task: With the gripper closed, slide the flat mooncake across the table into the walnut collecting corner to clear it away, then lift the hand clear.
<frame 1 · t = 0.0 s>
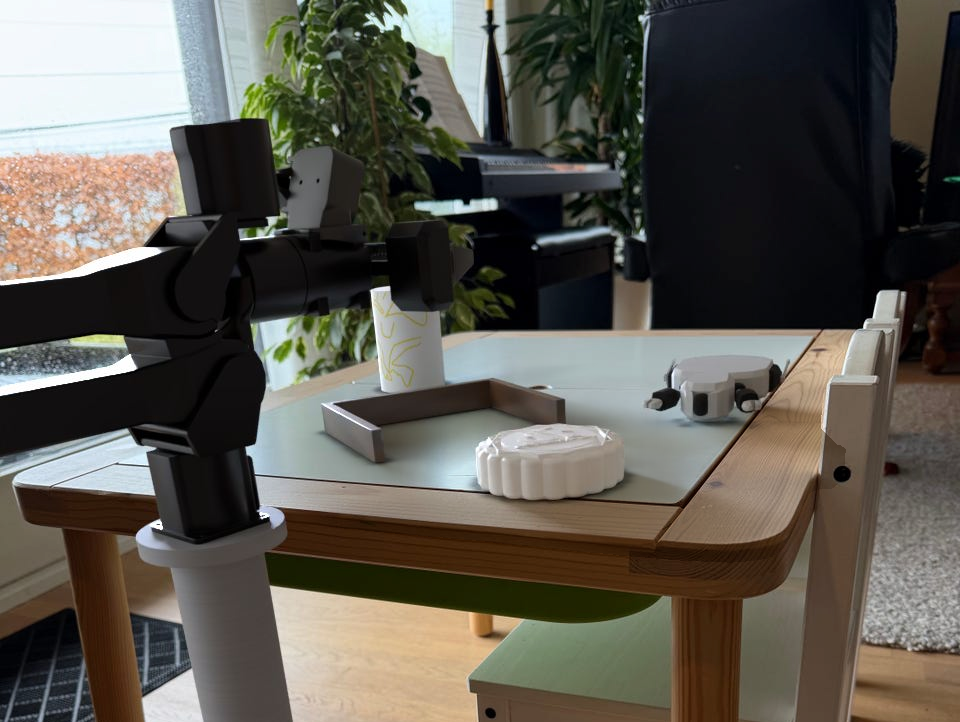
hand: (431, 257, 82), 17 cm above the table, tool horizontal, fingers open, 9 cm apart
cup: (413, 388, 125), on the table
robot toy: (715, 413, 99), on the table
mooncake: (551, 482, 80), on the table
collecting corner: (444, 432, 100), on the table
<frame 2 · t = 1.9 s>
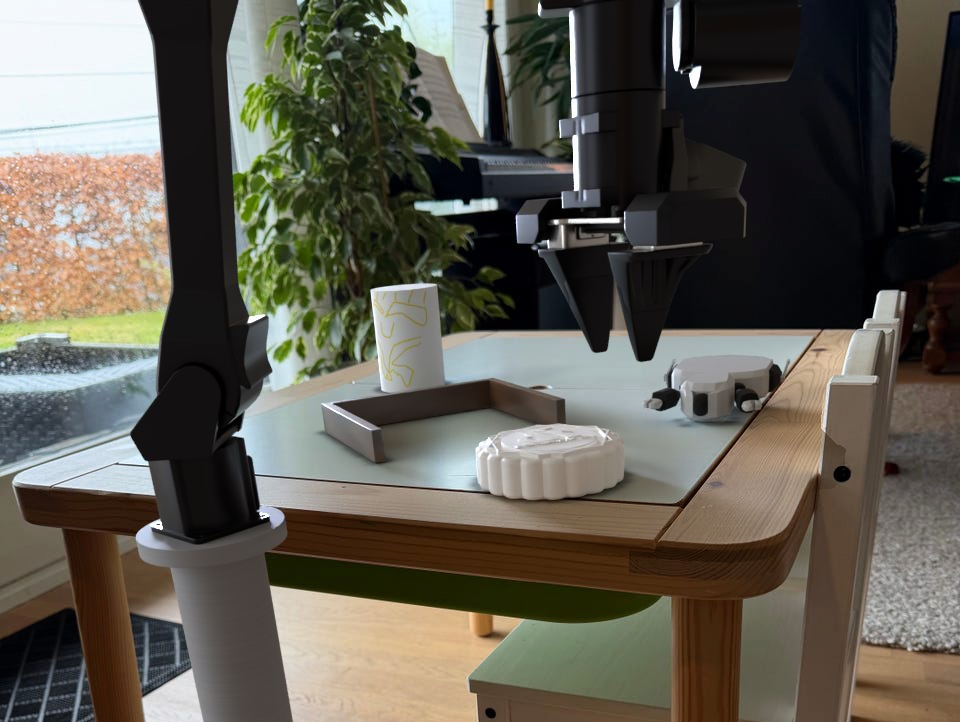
hand: (621, 356, 67), 11 cm above the table, tool pointing down, fingers open, 5 cm apart
nothing on the table moved.
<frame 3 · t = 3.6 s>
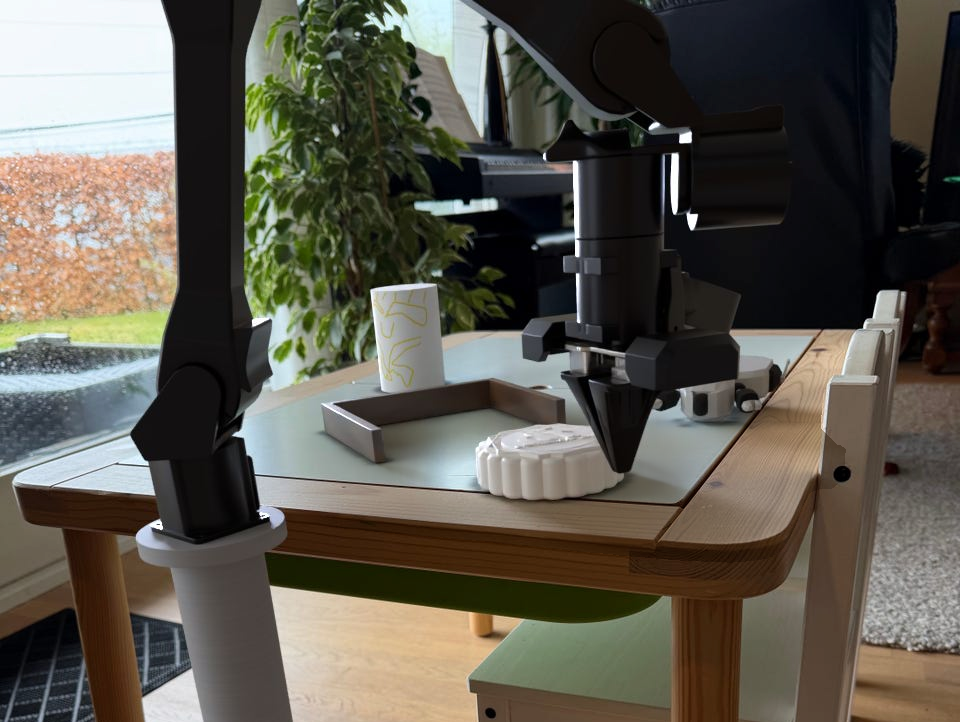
hand: (621, 471, 70), 3 cm above the table, tool pointing down, fingers closed
nothing on the table moved.
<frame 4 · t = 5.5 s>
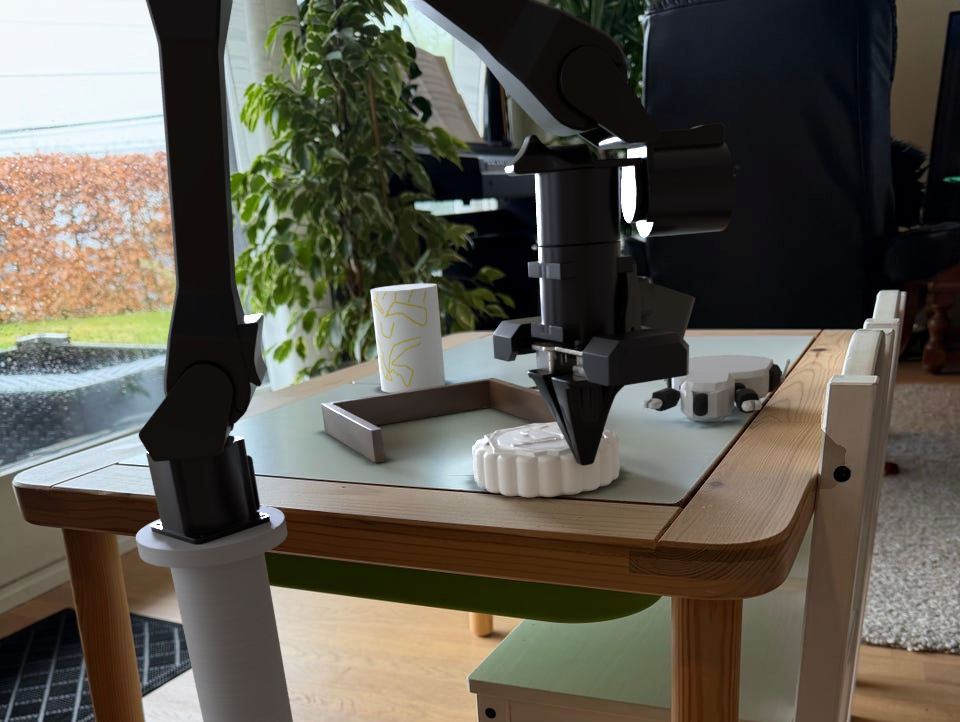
hand: (585, 464, 74), 3 cm above the table, tool pointing down, fingers closed
mooncake: (547, 480, 81), on the table, touching gripper
everything else where it was.
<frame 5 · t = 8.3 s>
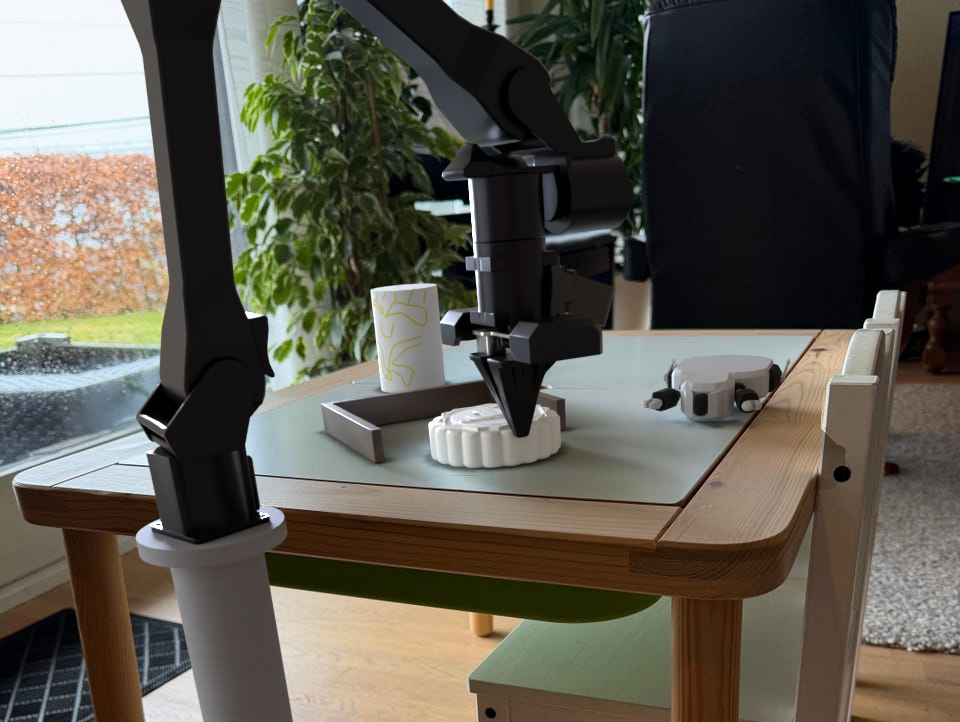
hand: (521, 436, 84), 3 cm above the table, tool pointing down, fingers closed
mooncake: (496, 454, 90), on the table, touching gripper
everything else where it was.
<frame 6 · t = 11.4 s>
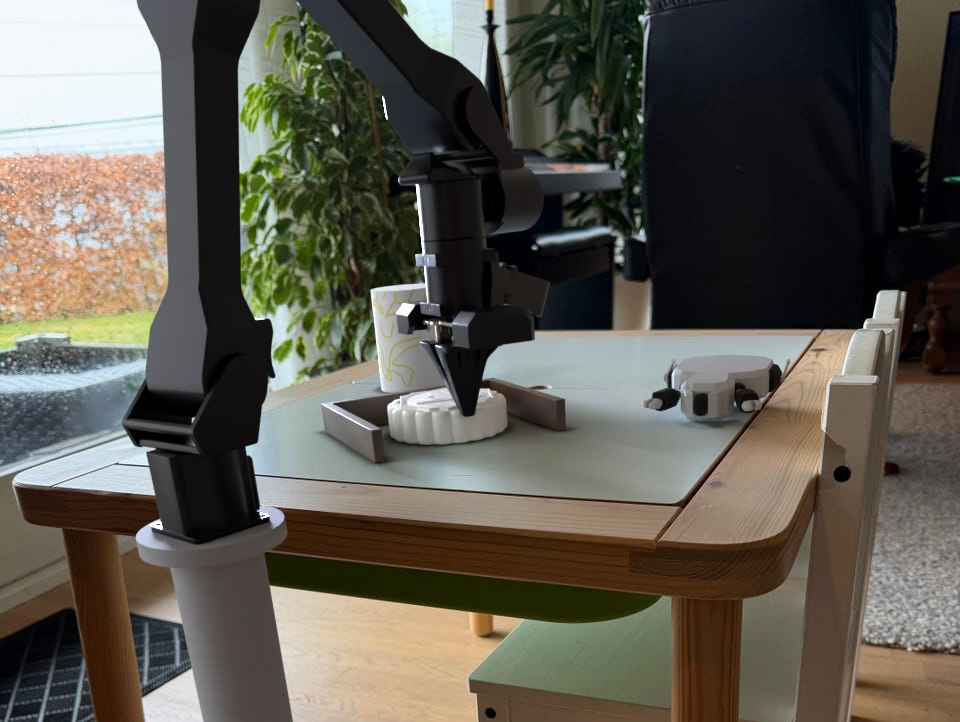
hand: (468, 416, 93), 3 cm above the table, tool pointing down, fingers closed
mooncake: (448, 433, 100), on the table, touching gripper
everything else where it was.
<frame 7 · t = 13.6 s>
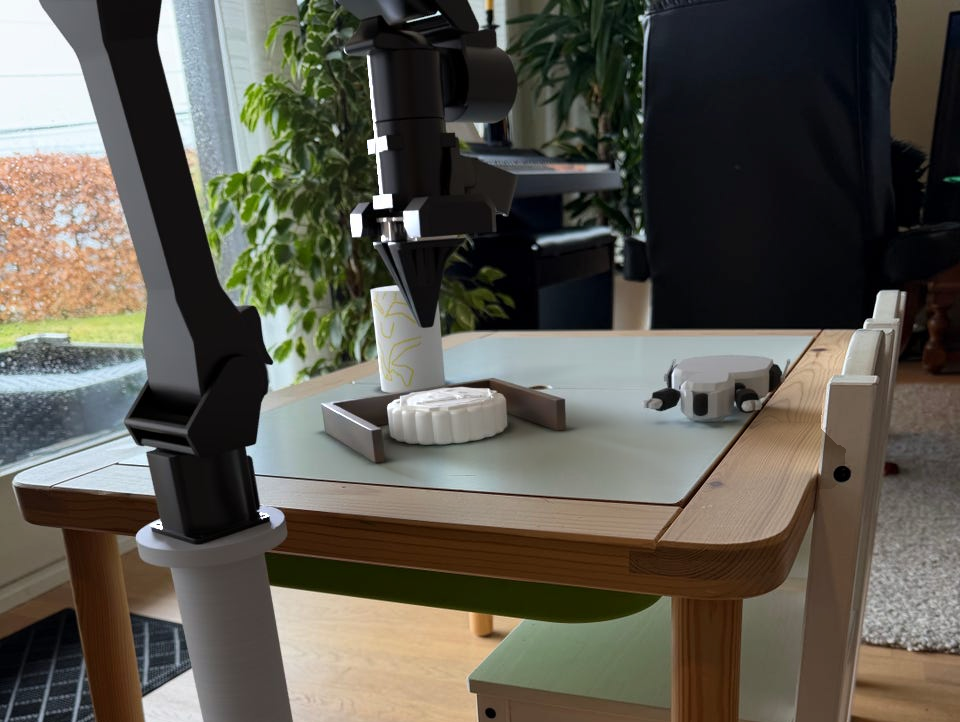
hand: (426, 327, 84), 12 cm above the table, tool pointing down, fingers closed
mooncake: (448, 433, 100), on the table
everything else where it was.
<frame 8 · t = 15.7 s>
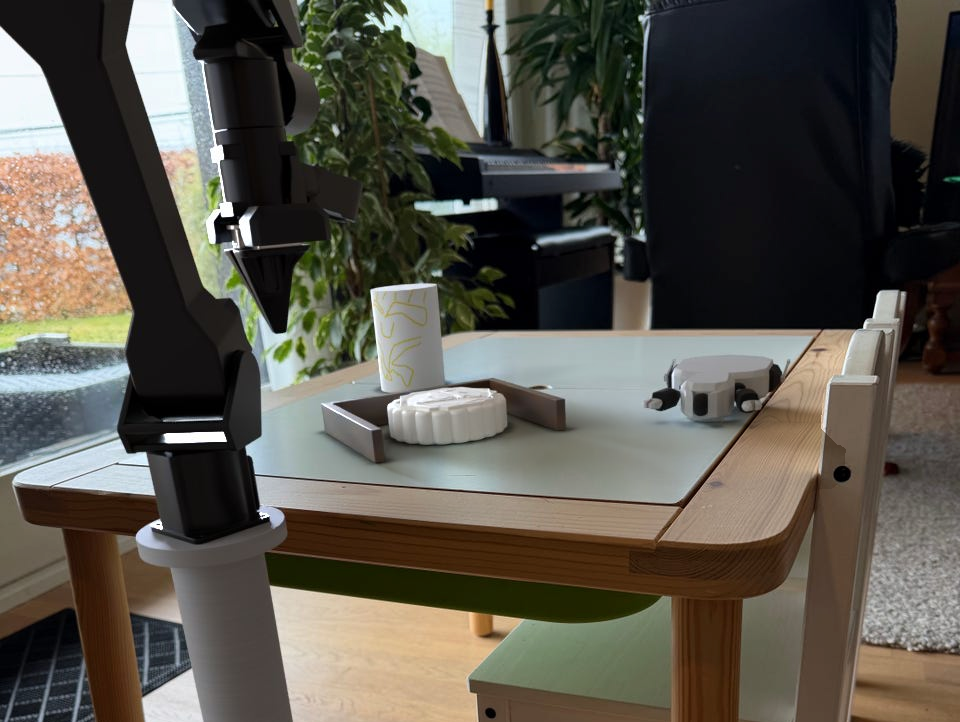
hand: (279, 333, 85), 12 cm above the table, tool pointing down, fingers closed
nothing on the table moved.
at the end: mooncake inside the target area on the collecting corner (0.4 cm from its centre), point 0.0 cm above the collecting corner's base; mooncake tilted 0° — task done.
